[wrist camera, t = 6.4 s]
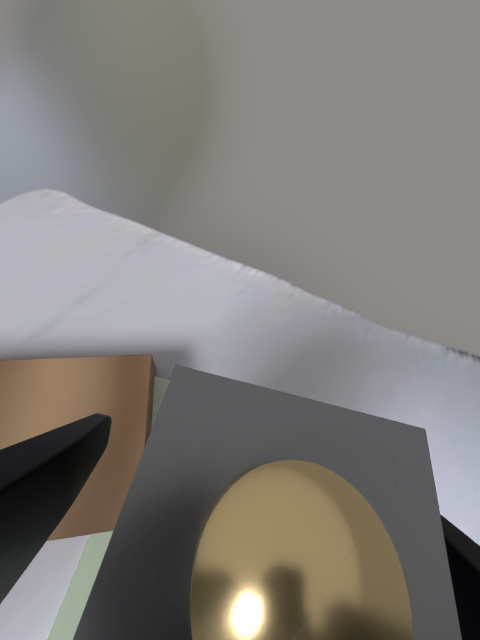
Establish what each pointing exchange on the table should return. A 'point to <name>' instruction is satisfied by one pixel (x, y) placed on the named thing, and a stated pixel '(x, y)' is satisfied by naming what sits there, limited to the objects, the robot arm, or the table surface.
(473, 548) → the robot arm
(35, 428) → the brown wooden flat block
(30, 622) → the table surface
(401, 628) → the grey knobbed post
